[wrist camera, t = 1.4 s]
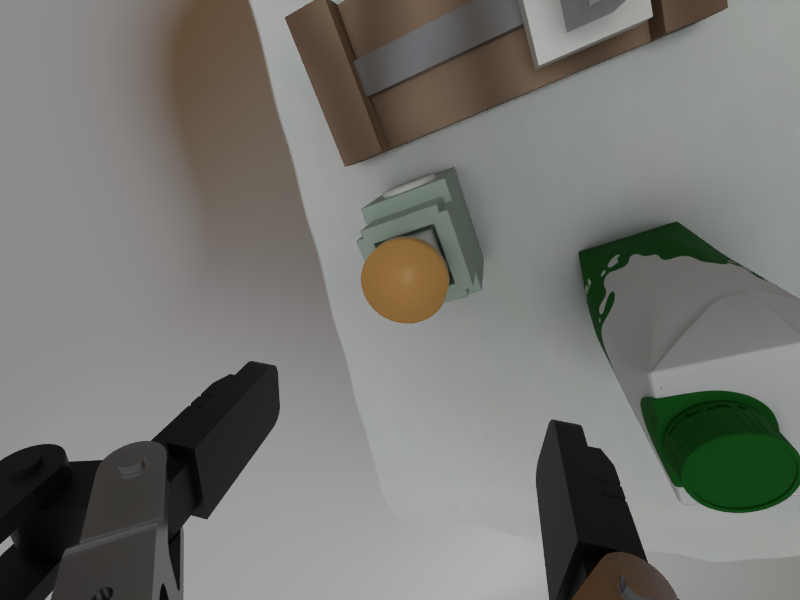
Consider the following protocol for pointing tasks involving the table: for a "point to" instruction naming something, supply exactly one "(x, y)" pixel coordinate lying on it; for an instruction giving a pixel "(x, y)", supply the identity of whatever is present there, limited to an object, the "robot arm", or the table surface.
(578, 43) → the carriage
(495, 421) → the table surface
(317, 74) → the rail bed
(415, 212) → the cabinet
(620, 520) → the robot arm
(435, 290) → the button
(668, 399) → the milk carton
